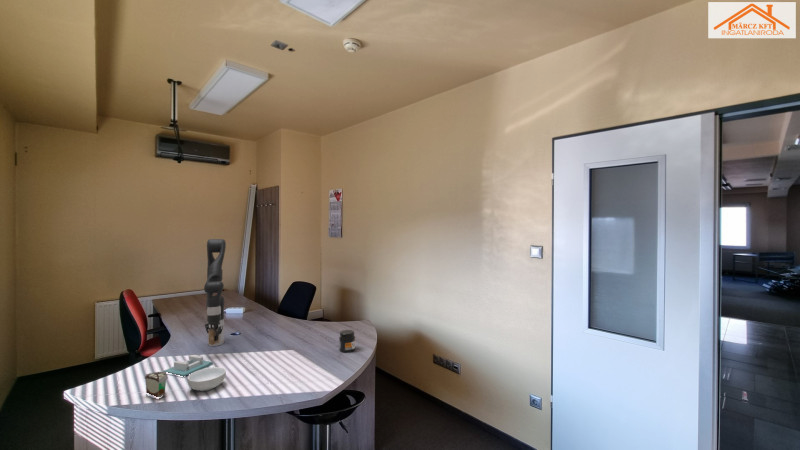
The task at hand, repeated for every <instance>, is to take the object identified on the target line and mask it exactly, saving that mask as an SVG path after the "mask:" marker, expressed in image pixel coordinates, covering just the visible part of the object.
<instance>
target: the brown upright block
mask: <svg viewBox="0 0 800 450" xmlns="http://www.w3.org/2000/svg"><path fill="white" fill-rule="evenodd" d="M216 330H217V329H216ZM208 331H209V344H210V345H213V344H216V343H218V342H219V335H218V341H214V336H215V335H214V332H213V328H209V329H208ZM216 333H217V331H216Z"/></svg>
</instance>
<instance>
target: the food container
mask: <svg viewBox="0 0 800 450" xmlns="http://www.w3.org/2000/svg"><path fill="white" fill-rule="evenodd" d="M144 379H145V391H146V393H149V394H151V395H154V396H156V397H161V396H162V395H164V394H165V395H166V387H167V386H166V385H167V380H168V379H169V375H167V374H166V372H163V371H156V372H151V373H147V374H145V375H144ZM146 393H145V394H146ZM165 395H164V396H165Z"/></svg>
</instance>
